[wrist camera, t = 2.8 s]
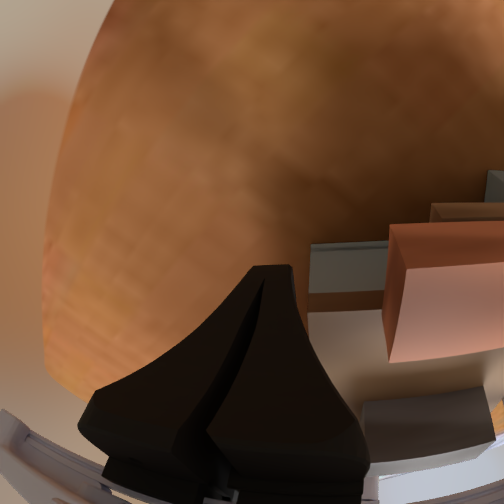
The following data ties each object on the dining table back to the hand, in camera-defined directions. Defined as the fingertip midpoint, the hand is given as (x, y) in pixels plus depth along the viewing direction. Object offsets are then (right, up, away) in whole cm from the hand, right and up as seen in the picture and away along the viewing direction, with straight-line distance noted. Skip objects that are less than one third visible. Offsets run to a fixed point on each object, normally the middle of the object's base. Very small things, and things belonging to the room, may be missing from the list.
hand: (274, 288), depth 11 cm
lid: (+10, -6, +5) cm, 12 cm away
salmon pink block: (+8, +1, -2) cm, 8 cm away
